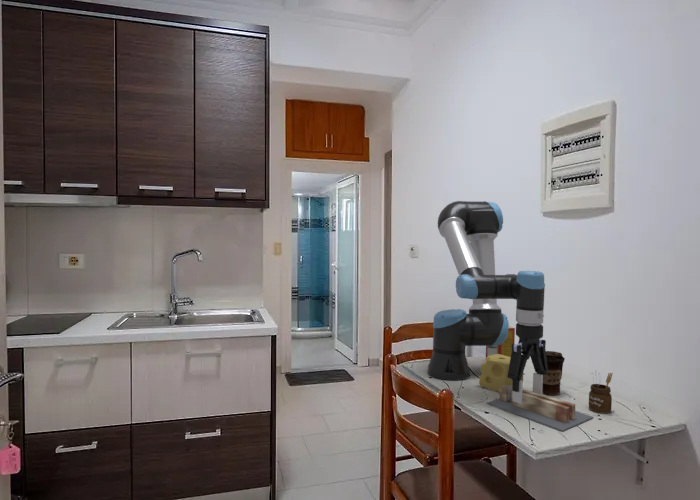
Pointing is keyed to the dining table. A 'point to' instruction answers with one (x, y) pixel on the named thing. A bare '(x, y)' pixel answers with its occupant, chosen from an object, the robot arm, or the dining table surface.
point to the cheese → (495, 372)
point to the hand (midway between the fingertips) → (527, 398)
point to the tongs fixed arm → (536, 404)
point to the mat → (541, 416)
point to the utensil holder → (600, 396)
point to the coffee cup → (553, 373)
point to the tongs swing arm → (571, 405)
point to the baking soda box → (503, 345)
